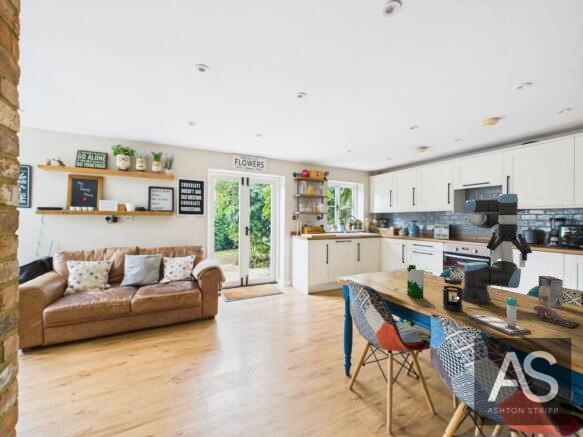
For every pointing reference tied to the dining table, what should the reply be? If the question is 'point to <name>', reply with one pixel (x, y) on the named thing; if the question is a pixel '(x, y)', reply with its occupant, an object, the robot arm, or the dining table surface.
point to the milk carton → (415, 281)
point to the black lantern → (451, 304)
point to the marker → (511, 313)
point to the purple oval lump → (547, 312)
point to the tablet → (498, 324)
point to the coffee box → (550, 291)
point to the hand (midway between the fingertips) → (507, 264)
